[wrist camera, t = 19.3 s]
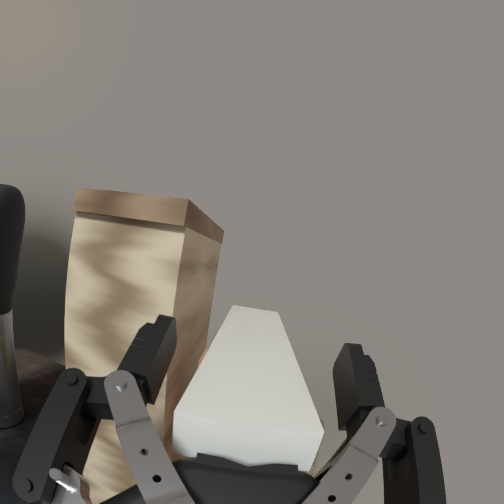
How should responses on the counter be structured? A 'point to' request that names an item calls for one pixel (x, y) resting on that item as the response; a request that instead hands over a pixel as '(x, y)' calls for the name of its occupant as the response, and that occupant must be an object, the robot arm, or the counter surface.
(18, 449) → the counter surface
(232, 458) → the slat
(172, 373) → the oak stand
